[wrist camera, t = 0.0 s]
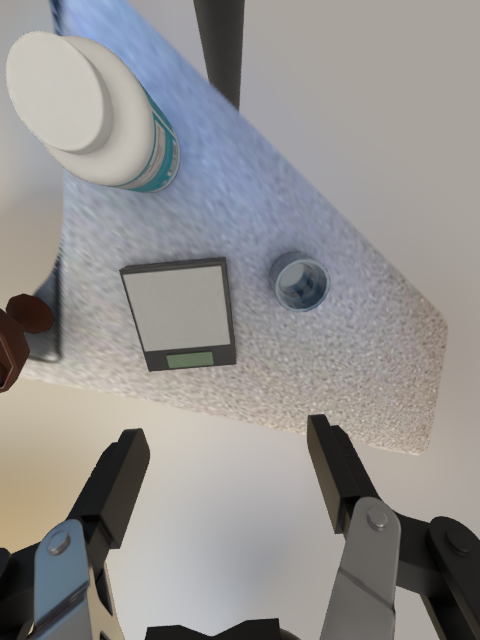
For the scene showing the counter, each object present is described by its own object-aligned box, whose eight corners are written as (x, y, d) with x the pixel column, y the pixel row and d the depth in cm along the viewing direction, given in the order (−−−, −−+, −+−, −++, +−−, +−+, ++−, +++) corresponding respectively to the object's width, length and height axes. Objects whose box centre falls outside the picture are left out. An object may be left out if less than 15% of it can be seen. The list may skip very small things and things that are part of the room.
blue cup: (268, 253, 29) (274, 261, 24) (316, 249, 29) (332, 256, 24) (269, 299, 31) (275, 314, 27) (314, 295, 31) (328, 309, 26)
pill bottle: (93, 120, 23) (-68, 16, 11) (164, 94, 22) (80, -48, 10) (128, 203, 26) (34, 195, 14) (192, 182, 25) (153, 155, 13)
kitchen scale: (126, 265, 29) (116, 270, 26) (225, 256, 29) (224, 261, 26) (153, 362, 35) (147, 374, 32) (236, 355, 34) (236, 366, 32)
